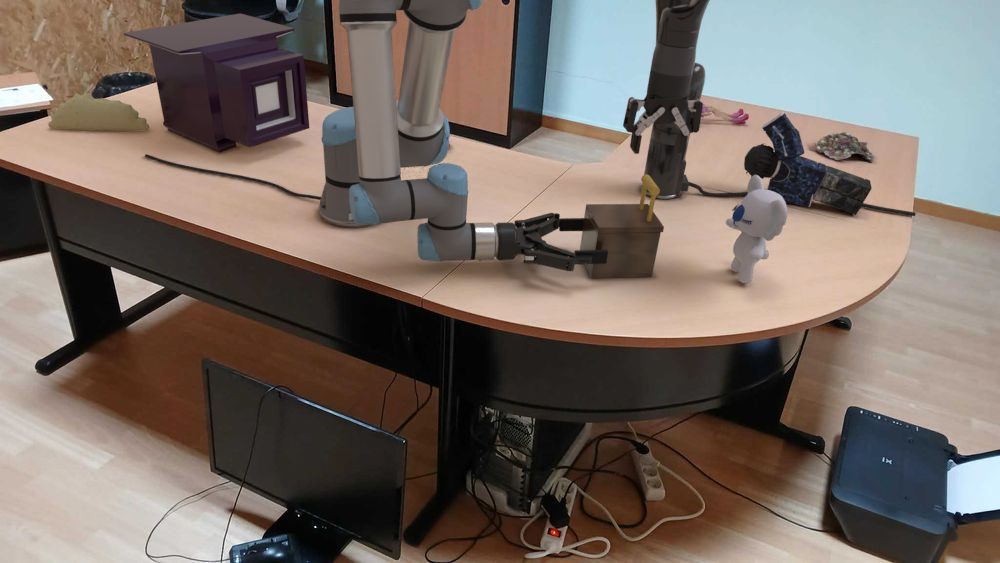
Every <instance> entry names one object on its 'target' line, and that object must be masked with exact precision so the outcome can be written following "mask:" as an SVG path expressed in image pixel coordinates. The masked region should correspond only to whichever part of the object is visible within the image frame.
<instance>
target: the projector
mask: <svg viewBox="0 0 1000 563" xmlns="http://www.w3.org/2000/svg"><path fill="white" fill-rule="evenodd" d="M294 31H295V28H294V27H292V26H287V25H283V24H279V23H276V22H272V21H269V20H264V19H262V18H259V17H256V16H255V17H254V16H252V15H247V14H244V13H235V14H230V15H224V16H217V17H212V18H205V19H200V20H194V21H188V22H181V23H175V24H169V25H163V26H157V27H151V28H146V29H145V28H144V29H139V30H134V31H128V32H123V36H125V37H127V38H130V39H133V40H136V41H138V42H142V43H145V44H148V45H149V50H150V54H151V60H152V66H153V71H154V75H155V76H154V77H155V82H156V87H157V92H158V97H159V102H160V107H161V113H162V118H163V122H162V126H163V127H165V128H166V129H167V131H168V132H170V133H172V134H175V135H177V136H179V137H182V138H184V139H187V140H189V141H191V142H193V143H196V144H197V145H200V146H203V147H205V148H207V149H209V150H212V151H215V152H217V153H219V154H220V153H224V152H227V151H229V150H233V149H235V148H237V144H240V145H242V146H245V147H247V148H249V149H250V148H253V147H256V146H259V145H262V144H266V143H269V142H271V141H275V140H278V139H281V138H285V137H287V136H289V135H293V134H296V133H300V132H302V131H305V130H308V129H310V118H309V105H308V94H307V93H308V92H307V80H306V79H307V78H306V68H305V56H304V54H303V53H302V54H301V53H297V52H296V51H295V52H294V51H291V50H288V49H285V48H282V47H279V44H278V40H277V38H280V37H282V36H286V35H287V34H291V33H292V32H294Z"/></svg>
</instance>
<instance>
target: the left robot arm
mask: <svg viewBox="0 0 1000 563" xmlns="http://www.w3.org/2000/svg"><path fill="white" fill-rule="evenodd" d="M482 3H483V0H338V14H339V15H338V16H339V24H340V26H341V27H342V28H343V29H344V30H345V31H346V35H347V36H346V37H347V46H348V61H349V70H350V72H349V73H350V81H351V82H350V83H351V95H352V106H348V107H343V108H340V109H336V110H335V111H332V112H331V113H329V114H328V115H327V116H325V117H324V120H323V121H322V124H321V129H322V131H321V142H322V148H323V161H324V163H323V164H324V177H325V178H324V179H325V181H324V186H323V190H322V193H321V196H318V195H312V194H304V193H298V192H294V191H291V190H289V189H287V188H285V187H283V186H281V185H279V184H277V183H274V182H271V181H267V180H263V179H260V178H256V177H255V178H254V177H250V176H245V175H241V174H235V173H229V172H224V171H217V170H211V169H206V168H201V167H200V168H199V167H195V166H191V165H185V164H180V163H176V162H173V161H169V160H166V159H162V158H159V157H156V156H153V155H151V154H147V153H145V154H144V157H145V158H147V159H150V160H154V161H156V162H159V163H162V164H165V165H168V166H173V167H176V168H181V169H186V170H191V171H196V172H202V173H207V174H213V175H219V176H223V177H224V176H225V177H230V178H235V179H239V180H240V179H241V180H245V181H251V182H255V183H259V184H264V185H268V186H270V187H274V188H277V189H279V190H281V191H283V192H285V193H287V194H288V195H291V196H293V197H298V198H305V199H312V200H318V201H319V205H318V211H319V212H318V213H319V217H320V218H321V219H322V220H323V221H324V222H326V223H327V224H330V225H333V226H335V227H340V228H364V227H367V226H372V225H381V224H388V223H389V224H390V223H396V222H404V221H415V220H425V219H427V222H423V223H419V224H417V232H416V235H417V238H416V239H417V240H416V242H417V255H418V258H419V259H420V260H421V261H424V262H439V263H443V262H457V261H459V262H461V261H478V262H482V261H493V260H495V259H496V260H498V261H514V260H515V259H516V256H517V255H521V256H522V255H523V263H524V264H529V265H530V264H531V265H538V266H544V267H548V268H553V269H557V270H561V271H566V272H574V269H575V266H576V265H585V264H606V262H607V256H608V251H607V250H580V249H579V250H578V249H577V250H574V252H572V251H569V250H567V249H563V248H560V247H557V246H555V245H552V244H549V243H547V241H546V240H545V239H543V237H545V236H547V235H549V234H551V233H552V232H554V231H556V230H559V232H582V231H583V223H584V217H564V218H563V217H561V214H560V213H557V212H556V213H554V212H547V213H544V214H540V215H537V216H533V217H529V218H526V219H517V220H514V221H513V222H496V224H494V222H467V215H468V214H467V213H468V211H467V210H468V198H469V197H468V196H469V180H468V173H467V171H466V169H464V167H462V166H460V165H458V164H455V163H449V162H443V161H444V159H445V158H446V156H447V154H448V153H449V149H450V148H449V144H450V137H451V133H450V132H451V131H450V123H449V120H448V118H447V116H446V114H445V113H444V112H443V111H442V108H440V106H441V100H442V97H443V91H444V86H445V81H446V75H447V70H448V65H449V61H450V55H451V50H452V45H453V40H454V35H455V31H456V30H457V29H459V28H461V27H462V25H464V23H465V21H466V17H467V14H468V10H470V11H474V10H478V9H479V8H480V7H481V5H482ZM397 11H403V14H404V16H405V17H406V18H407V20H408V25H407V32H406V34H407V35H406V42H405V48H404V56H403V64H402V71H401V79H400V87H399V94H398V99H397V96H396V79H395V65H394V64H395V63H394V62H395V61H394V51H393V50H394V48H393V34H392V31H393V29H394V28H395V26H396V25H397V24H398V19H397ZM448 148H449V149H448ZM429 166H431V167H430V168H428V172H427V176H426V177H425V178H424V177H423V178H416V179H402V177H401V174H402V172H401V169H402V168H417V167H419V168H420V167H429Z"/></svg>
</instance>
